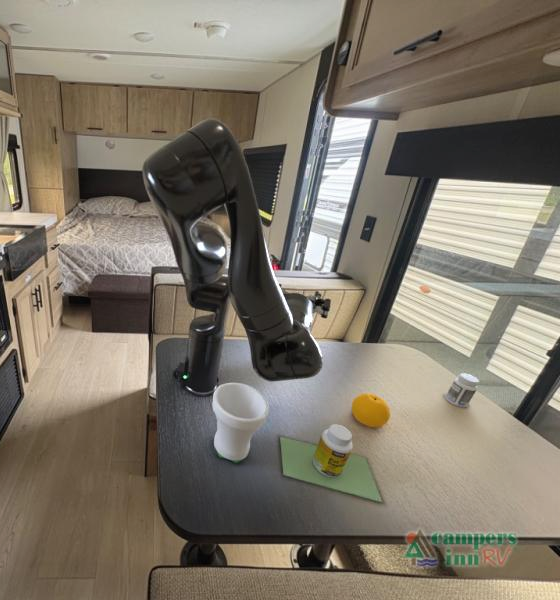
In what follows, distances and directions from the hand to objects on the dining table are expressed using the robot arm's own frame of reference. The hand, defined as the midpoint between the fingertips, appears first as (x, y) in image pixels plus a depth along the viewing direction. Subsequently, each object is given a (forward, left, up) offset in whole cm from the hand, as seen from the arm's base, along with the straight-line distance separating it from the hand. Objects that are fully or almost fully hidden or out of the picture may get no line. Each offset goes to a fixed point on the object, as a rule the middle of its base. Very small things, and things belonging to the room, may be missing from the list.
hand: (297, 291), depth 75 cm
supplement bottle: (+10, -24, -30) cm, 40 cm away
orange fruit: (+23, -6, -30) cm, 38 cm away
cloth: (+10, -24, -30) cm, 40 cm away
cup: (-10, -26, -30) cm, 41 cm away
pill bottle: (+51, +11, -30) cm, 60 cm away
